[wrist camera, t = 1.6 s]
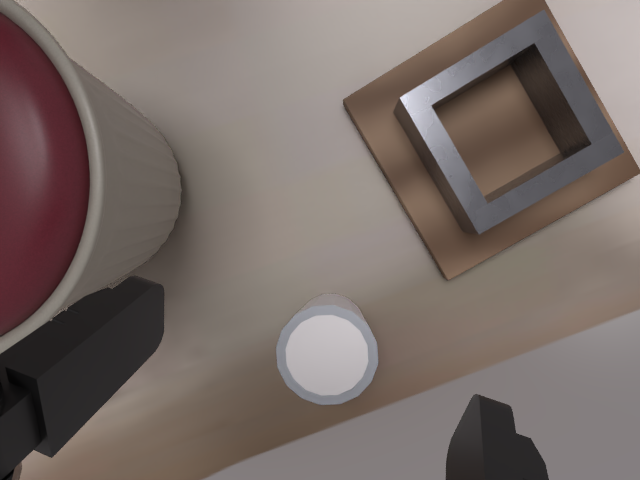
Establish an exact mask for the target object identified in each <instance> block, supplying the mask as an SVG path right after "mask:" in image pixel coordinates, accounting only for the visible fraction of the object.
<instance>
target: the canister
mask: <svg viewBox="0 0 640 480" xmlns="http://www.w3.org/2000/svg"><path fill="white" fill-rule="evenodd" d="M180 179H181V176H180V174H179V171H178V163H177V162H176V160H175V159H174V156H173V151H172V149H171V148H170V147H169V146H168V145H167V143H166V140H165V138H164V136H163V135H162V134H161V133H160V132H158V131H157V129H156V127H155V126H154V124H153V123H151V122H150V121H149V120H148V119H147V118H146V117H144V116H143V115H142V114H141V113H140V112H139V111H138V110H137V109H135V108H134V107H133V106H132V105H131V104H129V103H128V102H127V101H126V100H124V99H123V98H122V97H121V96H119V95H118V94H117V93H116V92H114V91H113V90H112V89H110V88H109V87H108V86H107V85H105V84H104V83H103V82H101V81H100V80H99V79H97V78H96V77H95V76H93V75H92V74H90V73H89V72H88V71H86V70H85V69H84V68H82V67H81V66H80V65H78V64H77V63H76V62H74V61H73V60H72V59H71V58H69V57H68V56H67V54H66V53H65V51H64V50H63V49H62V47H61V46H60V45H59V43H58V42H57V41H56V40H55V38H54V37H53V36H52V35H51V34H50V32H49V31H48V30H47V29H46V28H45V27H44V26H43V25H42V24H41V23H40V22H39V21H38V20H37V19H36V18H35V17H34V16H33V15H32V14H30V13H29V12H28V11H27V10H26V9H24V8H23V7H22V6H21V5H19V4H18V3H17V2H15V1H14V0H0V354H1V353H2V352H4V351H5V350H7V349H8V348H10V347H11V346H13V345H14V344H16V343H17V342H19V341H20V340H21V339H23V338H24V337H26V336H27V335H29V334H30V333H32V332H33V331H35V330H36V329H38V328H39V327H40V326H42V325H43V324H45V323H46V322H48V321H50V320H51V319H52V318H53V317H54V316H55V315H56V313H57V312H58V311H59V310H61V309H63V308H65V307H67V306H69V305H71V304H72V303H74V302H76V301H78V300H80V299H81V298H83V297H84V296H86V295H89V294H92V293H94V292H96V291H97V290H99V289H101V288H103V287H105V286H107V285H109V284H110V283H112V282H114V281H116V280H117V279H119V278H121V277H122V276H124V275H126V274H128V273H129V272H131V271H132V270H134V269H135V268H137V267H139V266H140V265H142V264H144V263H145V262H146V261H147V260H148V259H149V258H150V257H151V256H152V255H154V254H155V253H157V252H158V250H159V249H160V247H161V245H162V244H164V243H165V242H166V241H167V239H168V236H169V234H170V232H171V231H172V230H173V229H174V224H175V221H176V219H177V218H178V216H179V215H178V212H179V207H180V205H181V192H182V189H181V183H180Z"/></svg>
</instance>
